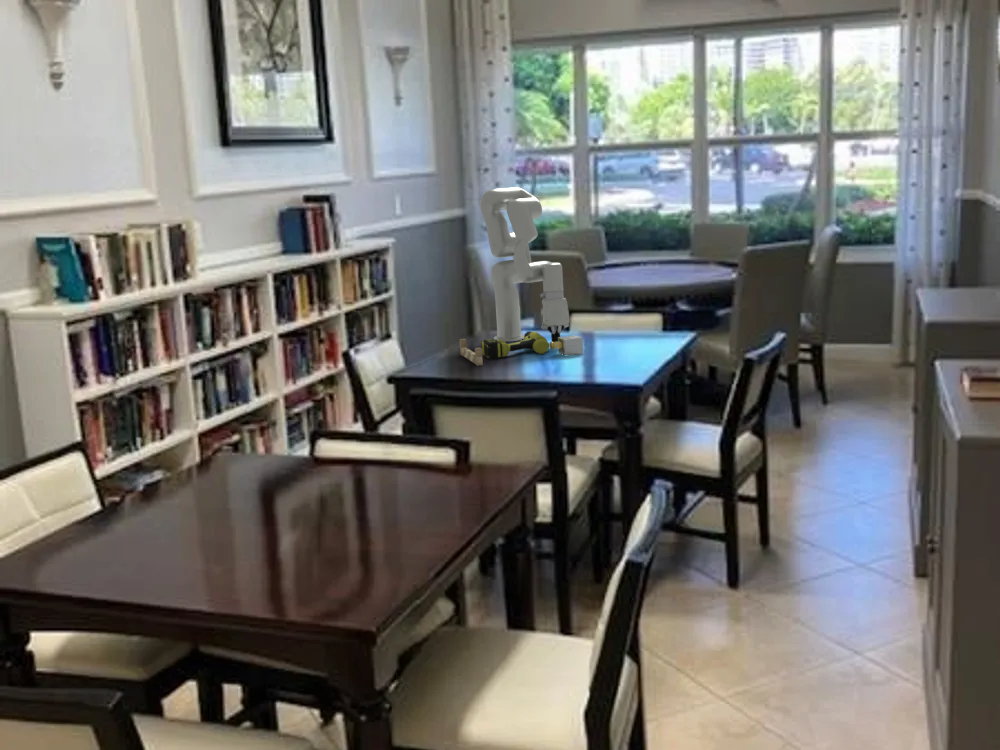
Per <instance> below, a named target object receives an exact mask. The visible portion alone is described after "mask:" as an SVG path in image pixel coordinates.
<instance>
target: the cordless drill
mask: <svg viewBox="0 0 1000 750" xmlns="http://www.w3.org/2000/svg"><path fill="white" fill-rule="evenodd" d="M523 335H524V339H523V340H519V341H515V342H512V343H507V342H503V341H502V340H500V339H499V340H494V338H486V339H484V340H481V341H480V348H482V356H484V358H486V359H487V360H488V361H493V360H498V359H500V358H504V357H505V358H506V357H507V356H508V354H509V352H514V351H520V350H532V351H534V352H536V353H537V354H540V355H543V354H545V353H547V352H548V351H549V348H550V342H548V340H547V338H546V337H544V336H543V335H541V334H540V333H539V332H538V331H531V330H529V331H526V332H525V333H524V334H523ZM550 349H551V348H550Z"/></svg>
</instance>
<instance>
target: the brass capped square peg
mask: <svg viewBox="0 0 1000 750" xmlns="http://www.w3.org/2000/svg"><path fill="white" fill-rule="evenodd" d="M549 344H550V350H557V349H558V348H563V341H557V342H552V341H550V342H549Z"/></svg>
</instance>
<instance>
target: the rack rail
mask: <svg viewBox="0 0 1000 750" xmlns="http://www.w3.org/2000/svg"><path fill="white" fill-rule="evenodd" d="M467 347H468V346H467V339H466V338H459V349H460V350H459V351H460V356H462V357H464V358H466V359H467V360H468V361H470V362H472V363H473V364H475V365H476V366H477V367H479V366H483V365H484V363H483V361H484V360H483V354H482V348H481V347H475V348H474V351H473V350H471V349H469V348H467Z"/></svg>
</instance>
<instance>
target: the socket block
mask: <svg viewBox="0 0 1000 750" xmlns="http://www.w3.org/2000/svg"><path fill="white" fill-rule="evenodd" d="M558 341H563V348H558V351H557V352H558V354H559V353H561V354H563V355H572V356H575V355H574V354H581V355H584V343H583V341H584V340H583V337H582V336H579V335H576V334H575V335H574V334H573V335H567V336H565V335H564V336H560V337H558ZM561 354H560V355H561ZM563 355H562V356H563Z"/></svg>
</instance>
